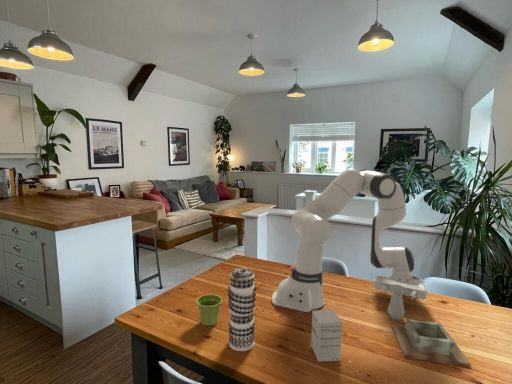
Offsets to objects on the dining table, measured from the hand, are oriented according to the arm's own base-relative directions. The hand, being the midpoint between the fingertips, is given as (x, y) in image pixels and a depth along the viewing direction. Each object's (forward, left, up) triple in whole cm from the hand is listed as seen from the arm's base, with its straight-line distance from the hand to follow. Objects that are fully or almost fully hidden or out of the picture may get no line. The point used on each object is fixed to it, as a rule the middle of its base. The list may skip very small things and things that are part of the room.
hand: (397, 294), depth 116 cm
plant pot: (-70, -25, -8) cm, 75 cm away
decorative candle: (-55, -34, -8) cm, 65 cm away
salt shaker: (-1, -5, -8) cm, 9 cm away
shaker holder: (+5, -21, -7) cm, 23 cm away
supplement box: (-28, -33, -8) cm, 44 cm away
